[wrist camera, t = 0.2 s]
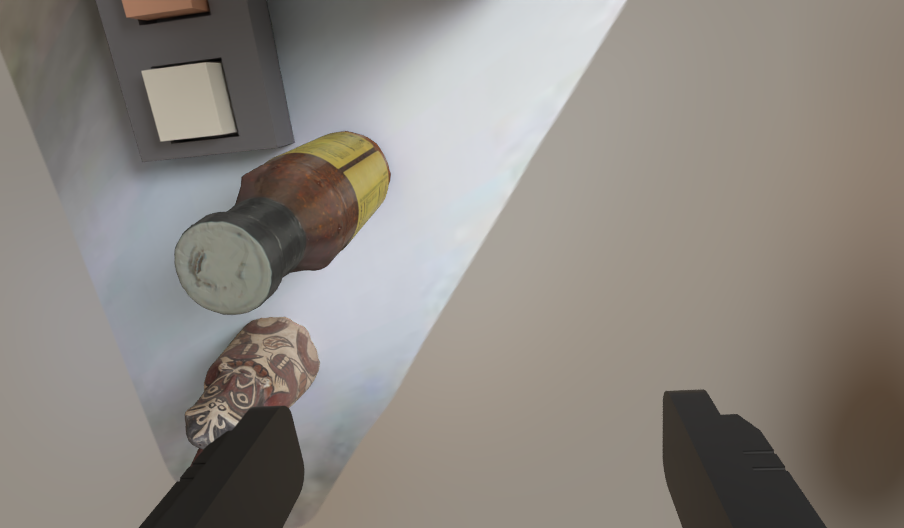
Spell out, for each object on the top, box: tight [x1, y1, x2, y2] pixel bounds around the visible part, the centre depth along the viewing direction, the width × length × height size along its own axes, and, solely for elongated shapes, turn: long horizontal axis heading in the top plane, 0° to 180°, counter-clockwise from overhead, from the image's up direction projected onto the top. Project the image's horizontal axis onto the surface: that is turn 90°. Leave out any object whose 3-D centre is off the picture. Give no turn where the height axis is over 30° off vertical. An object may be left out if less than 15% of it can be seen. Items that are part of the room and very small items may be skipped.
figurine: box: [185, 317, 320, 467], centre depth 40 cm, size 7×7×12 cm
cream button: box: [141, 62, 238, 141], centre depth 36 cm, size 4×4×2 cm
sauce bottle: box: [174, 131, 391, 315], centre depth 30 cm, size 6×6×20 cm
